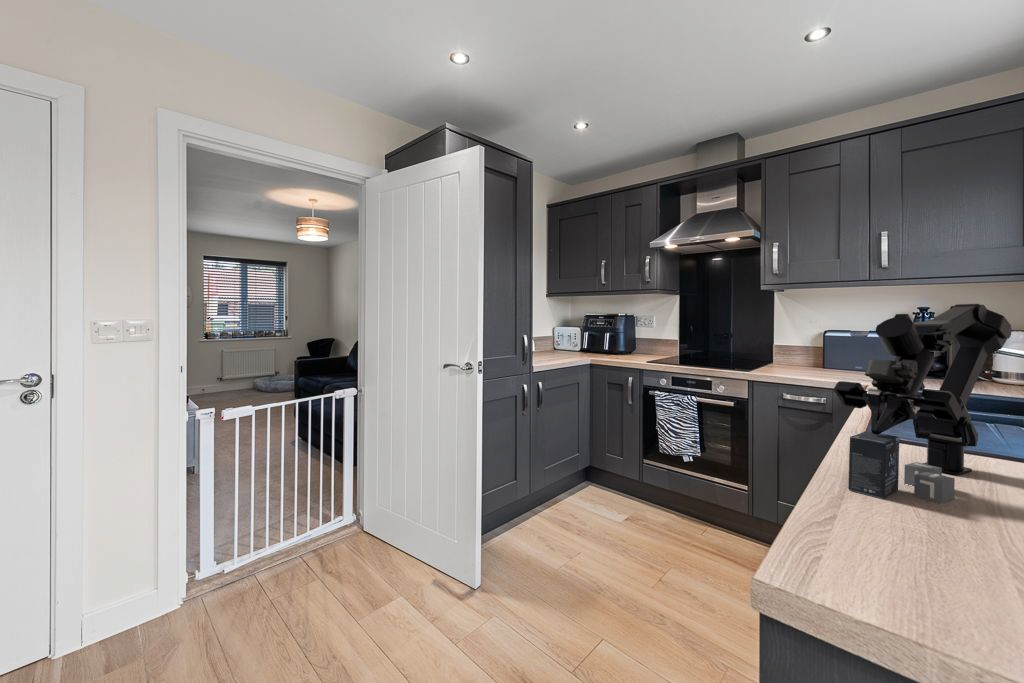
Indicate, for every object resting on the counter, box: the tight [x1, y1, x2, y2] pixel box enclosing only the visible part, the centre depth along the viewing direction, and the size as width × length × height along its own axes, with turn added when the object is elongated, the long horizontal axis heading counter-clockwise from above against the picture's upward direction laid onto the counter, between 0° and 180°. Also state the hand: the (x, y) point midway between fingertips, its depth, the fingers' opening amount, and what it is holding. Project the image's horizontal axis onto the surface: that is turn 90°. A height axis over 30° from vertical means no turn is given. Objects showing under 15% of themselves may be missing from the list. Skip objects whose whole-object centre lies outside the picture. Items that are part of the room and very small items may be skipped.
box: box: [847, 430, 901, 500], centre depth 84 cm, size 8×6×11 cm
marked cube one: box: [903, 461, 943, 487], centre depth 86 cm, size 4×4×4 cm
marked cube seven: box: [913, 472, 956, 504], centre depth 80 cm, size 4×4×4 cm
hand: (874, 433), depth 84 cm, fingers closed
